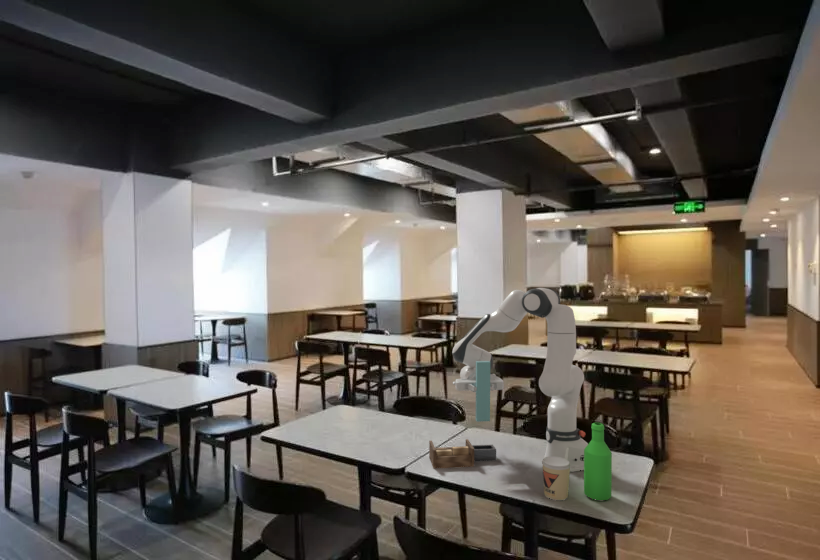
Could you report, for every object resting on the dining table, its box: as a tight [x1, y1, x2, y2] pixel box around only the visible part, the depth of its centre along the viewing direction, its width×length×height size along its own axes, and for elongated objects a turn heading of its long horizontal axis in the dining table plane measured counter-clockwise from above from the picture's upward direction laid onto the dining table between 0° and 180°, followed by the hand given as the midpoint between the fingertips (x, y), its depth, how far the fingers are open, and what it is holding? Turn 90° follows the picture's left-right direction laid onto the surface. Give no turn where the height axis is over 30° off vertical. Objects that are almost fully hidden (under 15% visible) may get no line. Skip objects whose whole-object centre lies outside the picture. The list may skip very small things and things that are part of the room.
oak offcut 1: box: [436, 449, 452, 456], centre depth 193 cm, size 6×2×6 cm, turn 96°
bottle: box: [583, 422, 613, 501], centre depth 168 cm, size 9×9×25 cm
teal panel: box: [475, 361, 491, 423], centre depth 199 cm, size 6×2×24 cm, turn 96°
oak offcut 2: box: [452, 445, 468, 455], centre depth 193 cm, size 6×2×6 cm, turn 96°
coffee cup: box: [541, 456, 571, 501], centre depth 169 cm, size 9×9×12 cm
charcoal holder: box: [471, 444, 497, 463], centre depth 199 cm, size 10×6×6 cm, turn 96°
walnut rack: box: [428, 438, 475, 470], centre depth 195 cm, size 16×11×8 cm
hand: (483, 388), depth 198 cm, fingers closed on teal panel, 5 cm apart
